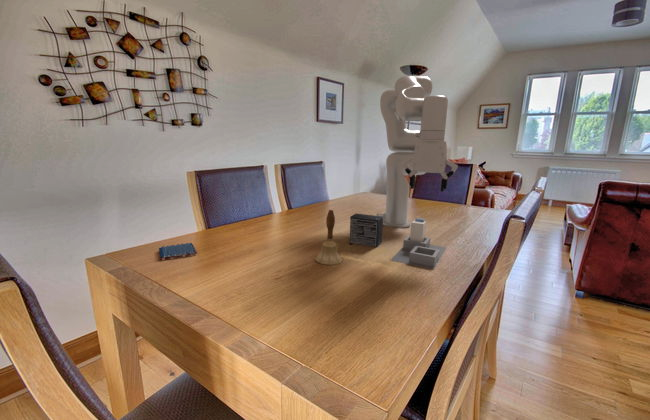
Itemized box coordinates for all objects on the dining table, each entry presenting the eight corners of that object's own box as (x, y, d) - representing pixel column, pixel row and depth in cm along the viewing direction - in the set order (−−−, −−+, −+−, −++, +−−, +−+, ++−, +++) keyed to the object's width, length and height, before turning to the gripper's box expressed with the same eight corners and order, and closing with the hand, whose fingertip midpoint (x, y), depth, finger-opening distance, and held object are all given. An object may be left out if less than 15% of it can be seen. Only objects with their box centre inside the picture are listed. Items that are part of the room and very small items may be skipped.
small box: (382, 244, 114) (384, 215, 111) (377, 249, 108) (379, 220, 106) (354, 239, 118) (355, 212, 116) (348, 244, 112) (349, 216, 110)
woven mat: (198, 257, 100) (197, 251, 99) (160, 263, 94) (159, 256, 94) (193, 246, 108) (193, 241, 108) (158, 252, 103) (158, 246, 103)
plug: (409, 247, 108) (411, 220, 106) (412, 244, 111) (414, 217, 109) (421, 249, 106) (423, 221, 104) (423, 246, 109) (426, 219, 107)
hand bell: (345, 257, 101) (347, 208, 97) (337, 266, 93) (339, 214, 89) (321, 253, 103) (321, 206, 100) (311, 262, 96) (312, 211, 92)
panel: (390, 262, 97) (390, 250, 96) (409, 242, 115) (409, 233, 115) (433, 272, 90) (435, 259, 90) (446, 249, 109) (447, 239, 108)
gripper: (402, 136, 102) (398, 188, 105) (459, 136, 93) (453, 193, 97) (408, 136, 108) (404, 186, 112) (462, 137, 100) (456, 190, 103)
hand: (427, 189), depth 104 cm, fingers open, 9 cm apart
